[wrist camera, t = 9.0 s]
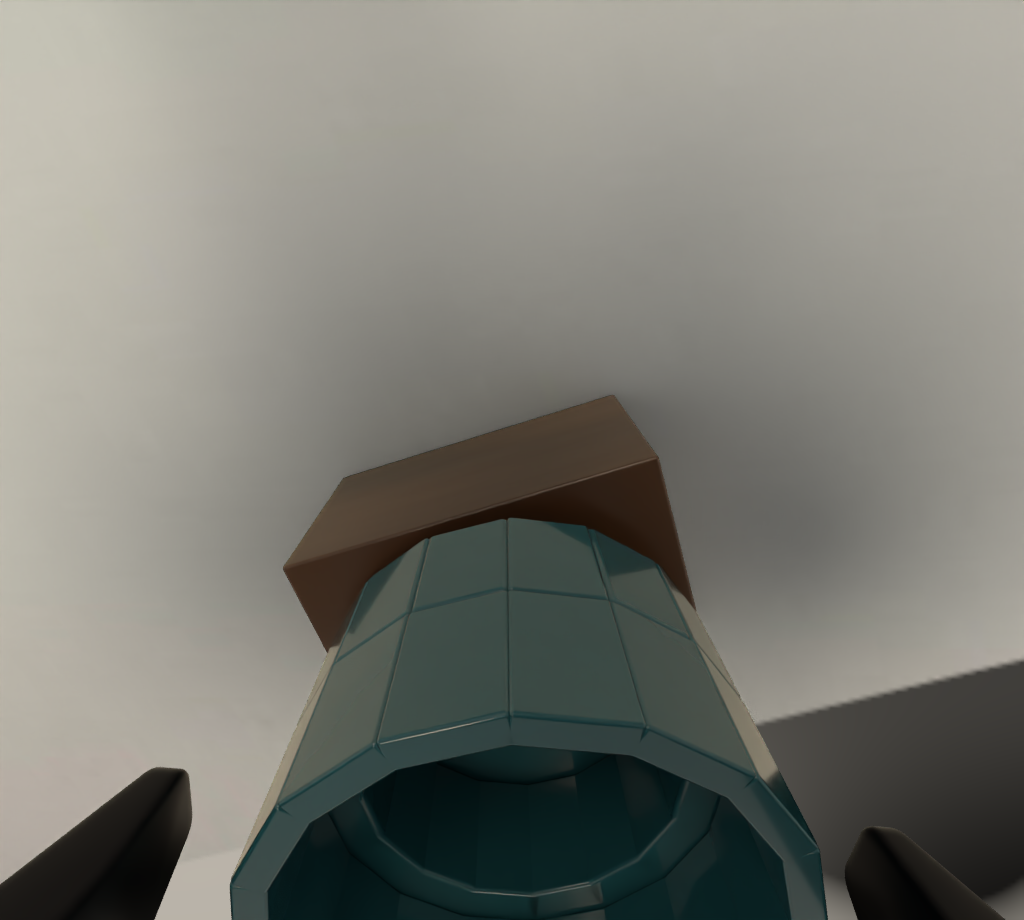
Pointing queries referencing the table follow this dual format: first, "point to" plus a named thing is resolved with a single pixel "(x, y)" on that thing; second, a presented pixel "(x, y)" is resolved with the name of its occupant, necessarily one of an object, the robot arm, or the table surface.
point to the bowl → (526, 752)
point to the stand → (490, 502)
